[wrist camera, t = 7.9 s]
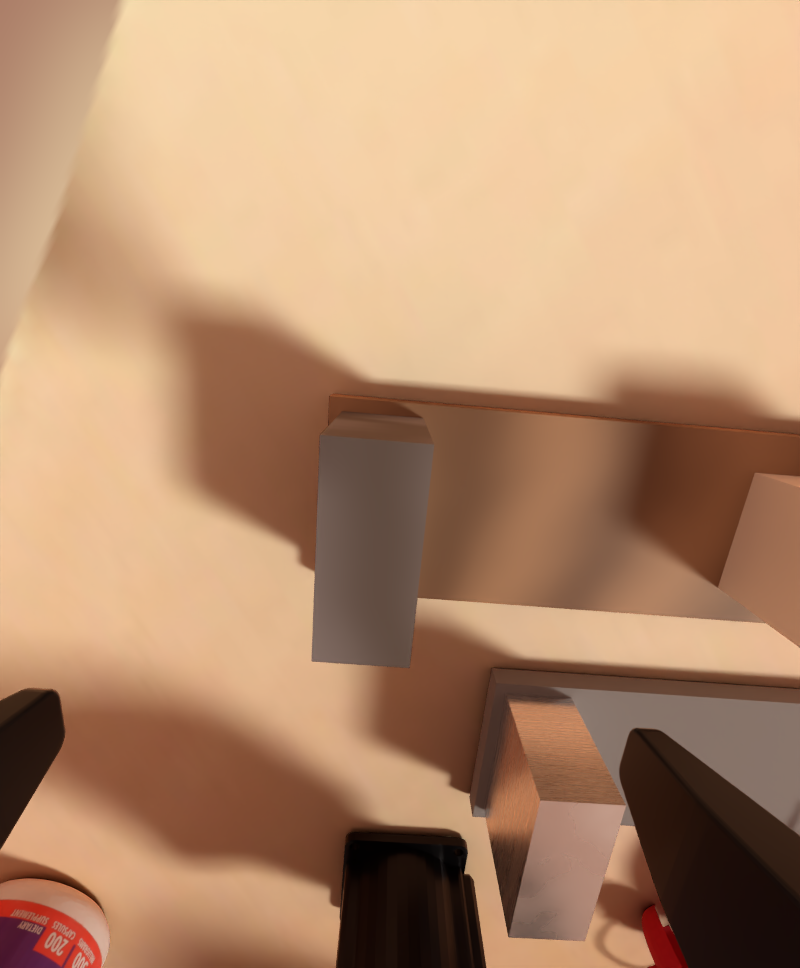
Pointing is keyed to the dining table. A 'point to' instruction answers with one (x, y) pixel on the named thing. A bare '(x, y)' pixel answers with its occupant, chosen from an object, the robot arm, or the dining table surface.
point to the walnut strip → (521, 516)
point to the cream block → (768, 554)
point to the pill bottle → (50, 926)
